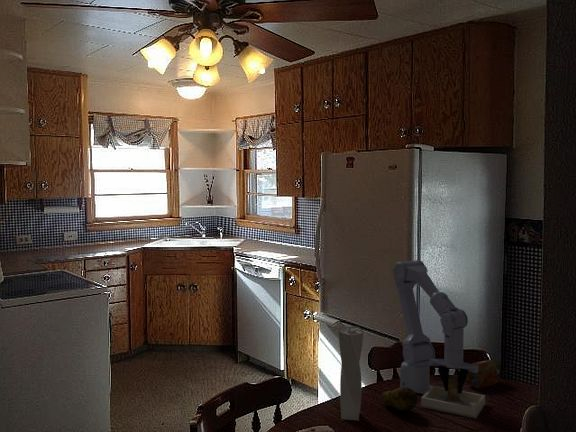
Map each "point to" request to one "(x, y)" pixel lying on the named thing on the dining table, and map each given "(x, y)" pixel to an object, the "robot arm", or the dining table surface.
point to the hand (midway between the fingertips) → (453, 391)
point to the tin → (484, 374)
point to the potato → (400, 398)
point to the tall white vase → (350, 372)
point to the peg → (453, 388)
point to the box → (453, 402)
